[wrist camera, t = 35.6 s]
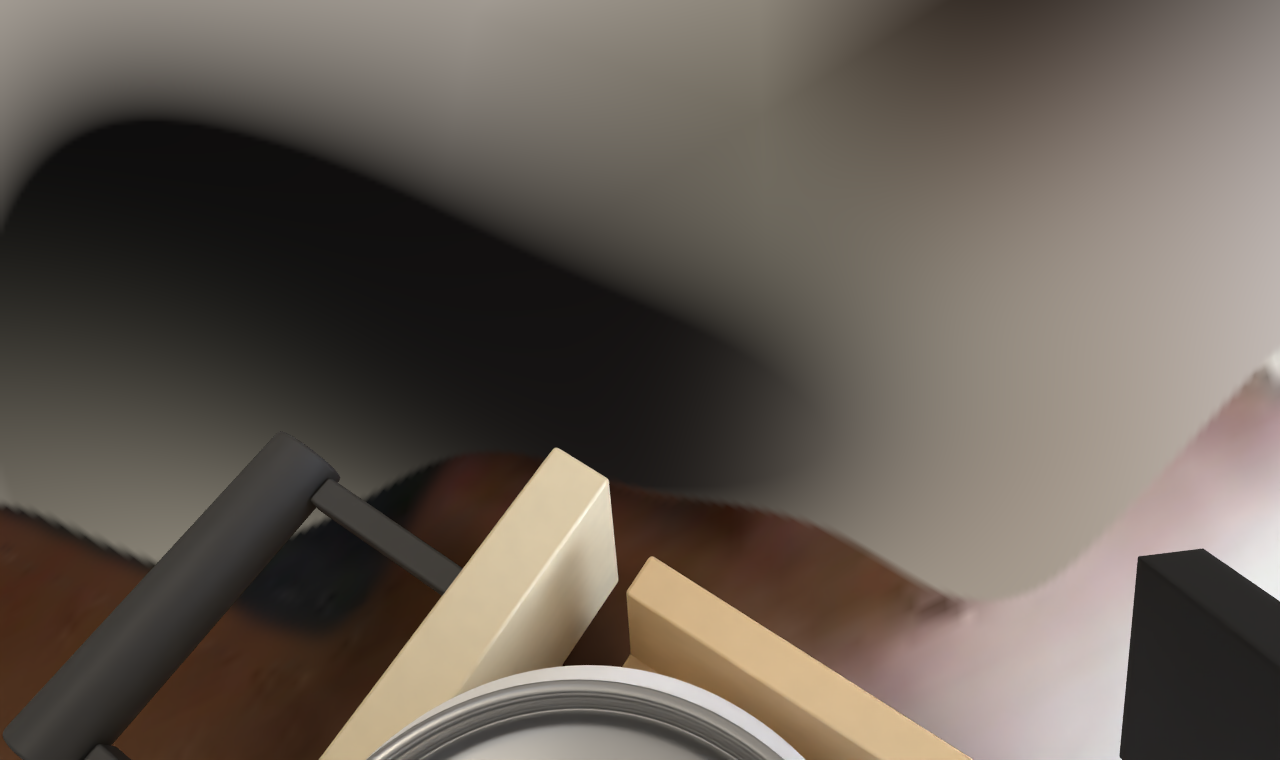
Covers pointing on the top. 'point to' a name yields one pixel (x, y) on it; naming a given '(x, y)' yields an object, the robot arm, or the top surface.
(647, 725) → the can
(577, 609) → the drawer
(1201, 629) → the robot arm
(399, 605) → the top surface
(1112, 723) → the top surface
